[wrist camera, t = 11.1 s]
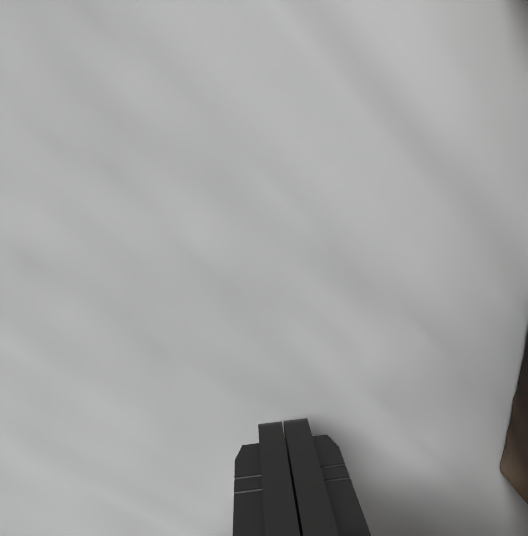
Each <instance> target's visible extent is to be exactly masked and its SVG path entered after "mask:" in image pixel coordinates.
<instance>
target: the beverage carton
mask: <svg viewBox="0 0 528 536" xmlns="http://www.w3.org/2000/svg"><path fill="white" fill-rule="evenodd" d="M500 470H501V472H502V474H503V475H504V476H505V477H506V478H507V480H508V481H509V482H510V483H511V485H512V486H513V487H514V488H515V490H516V491H517V492H518V493H519V495H520V496H521V497H522V498H523V499H524V500H525V501H526V503H527V504H528V336H527V344H526V351H525V356H524V361H523V365H522V369H521V373H520V379H519V386H518V390H517V392H516V394H515V396H514V400H513V409H512V417H511V423H510V426H509V429H508V432H507V440H506V446H505V450H504V453H503V456H502V459H501V465H500Z"/></svg>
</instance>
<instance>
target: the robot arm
mask: <svg viewBox="0 0 528 536" xmlns="http://www.w3.org/2000/svg"><path fill="white" fill-rule="evenodd" d="M283 423H284V433H283V427H282V422H273V423H265V424H258V428H259V443H257V444H249V445H242V447H241V449H240V451H239V453H238V455H237V457H236V459H235V480H234V513H233V536H371V534H370V532H369V529H368V526H367V523H366V521H365V518H364V515H363V512H362V510H361V507H360V504H359V501H358V499H357V496H356V493H355V490H354V488H353V485H352V482H351V480H350V477H349V474H348V471H347V468H346V466H345V463H344V460H343V457H342V455H341V452H340V449H339V447H338V446H337V445H336V444H335V443H334V442H333V441H332V439H331V438H330V437H329V436H328V435H321V436H313V437H312V435H311V431H310V427H309V424H308V420H307V418H305V419H297V420H289V421H283ZM284 435H285V439H284Z"/></svg>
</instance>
